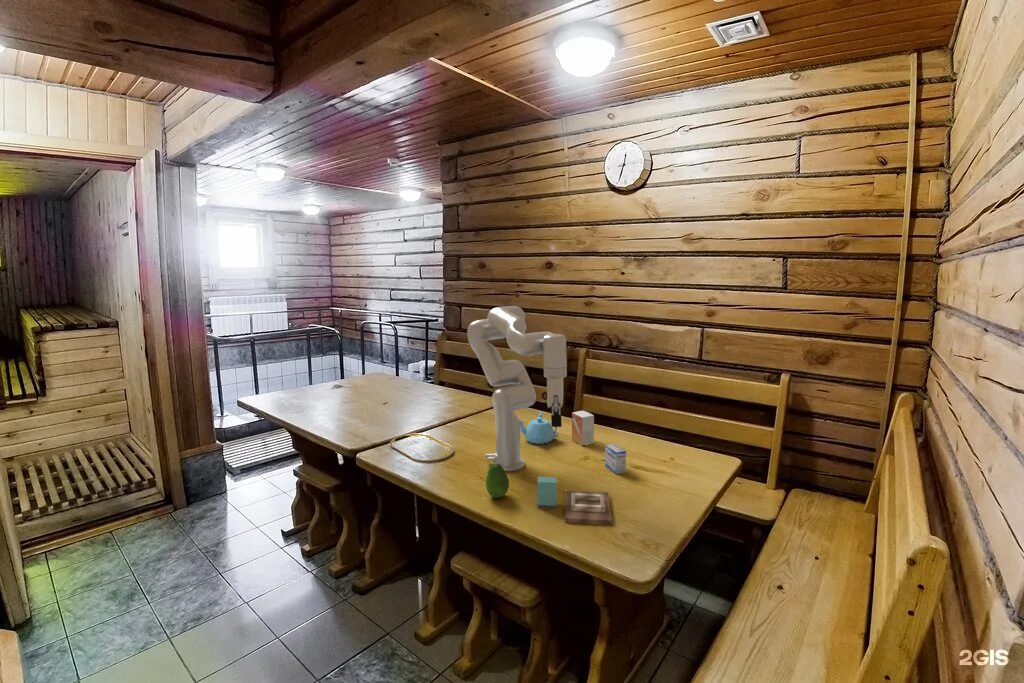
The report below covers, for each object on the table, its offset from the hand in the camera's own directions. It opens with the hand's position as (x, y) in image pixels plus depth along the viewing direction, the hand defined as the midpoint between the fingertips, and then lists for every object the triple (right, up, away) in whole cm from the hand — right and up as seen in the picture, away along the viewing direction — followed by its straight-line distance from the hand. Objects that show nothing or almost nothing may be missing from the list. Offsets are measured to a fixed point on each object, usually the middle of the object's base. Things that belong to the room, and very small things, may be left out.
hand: (556, 422), depth 161 cm
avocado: (-20, -26, +3) cm, 33 cm away
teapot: (-4, -17, +54) cm, 57 cm away
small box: (+16, -18, +51) cm, 56 cm away
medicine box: (+24, -22, +23) cm, 40 cm away
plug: (-3, -27, -4) cm, 27 cm away
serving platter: (-54, -20, +47) cm, 74 cm away
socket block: (+9, -27, -6) cm, 29 cm away
